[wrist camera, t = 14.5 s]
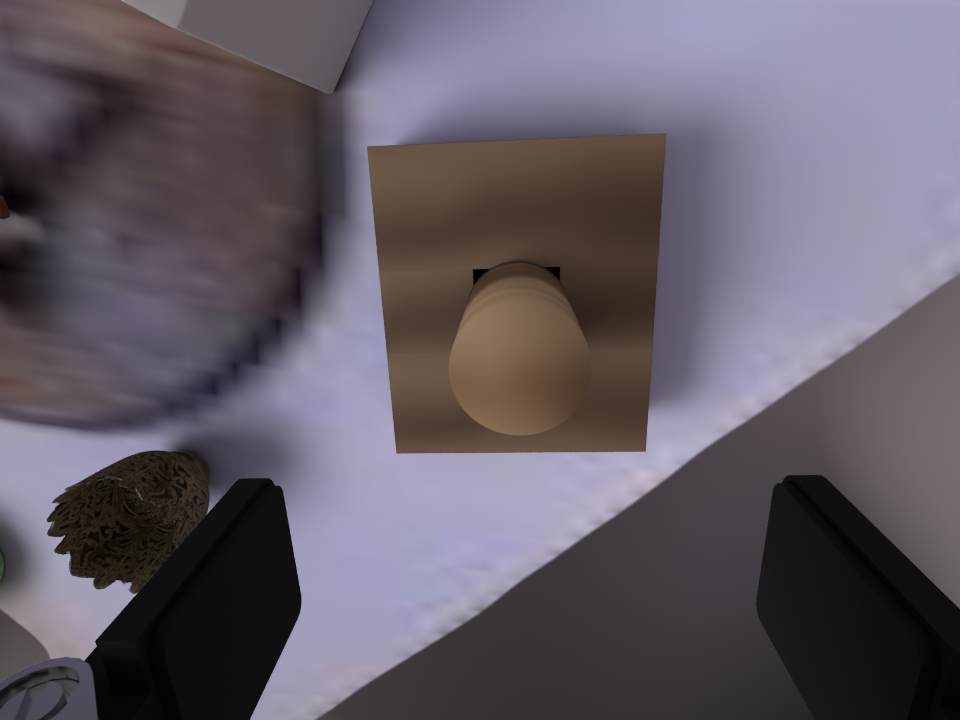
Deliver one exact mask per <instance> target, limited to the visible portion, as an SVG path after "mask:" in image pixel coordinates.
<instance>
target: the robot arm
mask: <svg viewBox="0 0 960 720" xmlns="http://www.w3.org/2000/svg"><path fill="white" fill-rule="evenodd" d="M756 605H757V612H758V616H759V619H760V621H761V623H762V625H763V627H764V629H765V631H766V632H767V634H768V636H769V638H770V640H771V641H772V643H773V645H774V647H775V649H776V651H777V652H778V654H779V656H780V658H781V660H782V661H783V663H784V665H785V667H786V669H787V670H788V672H789V674H790V676H791V678H792V679H793V681H794V683H795V685H796V687H797V688H798V690H799V692H800V694H801V696H802V697H803V699H804V701H805V703H806V705H807V707H808V708H809V710H810V712H811V714H812V716H813V717H814V719H815V720H960V609H959V608H958V607H957V606H956V605H955V604H954V603H953V602H952V601H951V600H950V599H949V598H948V597H947V596H946V595H945V594H944V593H943V592H941V590H940V589H939V588H938V587H936V585H934V584H933V582H931V581H930V580H929V579H928V578H927V577H926V576H925V575H924V574H923V573H922V572H921V571H920V570H919V569H918V568H917V567H916V566H915V565H914V564H913V563H912V562H911V561H910V560H909V559H908V558H907V557H906V556H905V555H904V554H903V553H902V552H901V551H900V550H899V549H898V548H897V547H896V546H895V545H894V544H892V542H891V541H890V540H889V539H887V538H886V537H885V536H884V535H883V534H882V533H881V532H880V531H879V530H878V529H877V528H876V527H875V526H874V525H873V524H872V523H871V522H870V521H869V520H868V519H867V518H866V517H865V516H864V515H863V514H862V513H861V512H860V511H859V510H858V509H857V508H856V507H855V506H854V505H853V504H852V503H851V502H850V501H849V500H848V499H847V498H846V497H845V496H844V495H842V494H841V493H840V492H839V491H838V490H837V489H836V488H835V487H834V486H833V485H832V484H831V483H830V482H829V481H828V480H827V479H826V478H825V477H823V476H821V475H788V476H786V477H785V479H784V480H783V482H782V483H777V484H776V485H775V486H774V489H773V494H772V500H771V507H770V514H769V520H768V527H767V534H766V541H765V547H764V553H763V560H762V567H761V573H760V580H759V586H758V593H757V602H756ZM300 610H301V592H300V586H299V580H298V575H297V569H296V563H295V558H294V552H293V546H292V540H291V535H290V529H289V523H288V518H287V512H286V506H285V500H284V495H283V491H282V488H281V487H280V486H274V483H273V481H272V480H271V479H269V478H249V479H239V480H238V481H236V482H235V483H234V485H233V486H232V487H231V488H230V489H229V490H228V491H227V493H226V494H225V495H224V496H223V497H222V498H221V499H220V500H219V502H218V503H217V504H216V505H215V506H214V507H213V508H212V510H211V511H210V512H209V513H208V514H207V515H206V516H205V517H204V519H203V520H202V521H201V522H200V523H199V524H198V525H197V527H196V528H195V529H194V530H193V531H192V532H191V533H190V534H189V536H188V537H187V538H186V539H185V540H184V541H183V542H182V544H181V545H180V546H179V547H178V548H177V549H176V550H175V551H174V553H173V554H172V555H171V556H170V557H169V558H168V559H167V561H166V562H165V563H164V564H163V565H162V566H161V567H160V568H159V570H158V571H157V572H156V573H155V574H154V575H153V576H152V577H151V579H150V580H149V581H148V582H147V583H146V584H145V585H144V587H143V588H142V589H141V590H140V591H139V592H138V593H137V594H136V596H135V597H134V598H133V599H132V600H131V601H130V602H129V604H128V605H127V606H126V607H125V608H124V609H123V610H122V611H121V613H120V614H119V615H118V616H117V617H116V618H115V619H114V621H113V622H112V623H111V624H110V625H109V626H108V627H107V628H106V630H105V631H104V632H103V633H102V634H101V635H100V636H99V638H98V639H97V640H96V641H95V642H96V645H97V647H96V648H95V649H94V650H93V652H92V653H91V654H90V655H89V656H88V657H87V658H86V660H85V661H83V660H81V659H80V658H70V657H63V658H56V659H50V660H46V661H43V662H41V663H38V664H35V665H32V666H29V667H27V668H25V669H23V670H21V671H19V672H17V673H15V674H13V675H11V676H9V677H8V678H7V679H5V680H4V681H2V682H1V683H0V720H250V718H251V716H252V714H253V712H254V710H255V708H256V705H257V703H258V701H259V699H260V697H261V695H262V693H263V691H264V689H265V686H266V684H267V682H268V680H269V678H270V676H271V674H272V672H273V670H274V668H275V665H276V663H277V661H278V659H279V657H280V655H281V653H282V651H283V649H284V647H285V644H286V642H287V640H288V638H289V636H290V634H291V632H292V630H293V628H294V625H295V623H296V621H297V619H298V617H299V614H300Z"/></svg>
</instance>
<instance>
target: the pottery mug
mask: <svg viewBox="0 0 960 720" xmlns="http://www.w3.org/2000/svg"><path fill="white" fill-rule="evenodd" d="M9 216H10V212H9V209H8V206H7V204H6V201H5V199H4V197H3V196H2V195H1V194H0V218H1V219H5V218H8V217H9Z"/></svg>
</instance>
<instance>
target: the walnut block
mask: <svg viewBox="0 0 960 720" xmlns="http://www.w3.org/2000/svg"><path fill="white" fill-rule="evenodd" d="M665 141H666V133H665V134H642V135H619V136H597V137H574V138H551V139H528V140H505V141H482V142H459V143H436V144H413V145H390V146H367V150H368V160H369V171H370V181H371V192H372V202H373V213H374V223H375V233H376V244H377V254H378V265H379V275H380V286H381V296H382V306H383V317H384V327H385V338H386V348H387V359H388V369H389V379H390V390H391V400H392V411H393V421H394V432H395V442H396V452H397V453H515V452H646V438H647V423H648V407H649V391H650V376H651V360H652V344H653V329H654V313H655V297H656V282H657V266H658V250H659V235H660V219H661V203H662V188H663V172H664V156H665ZM511 261H526V262H531V263H534V264H537V265H540V266H542V267H553V275H555V276H556V278H557V279H558V280H559V281H560V283H561V284H562V285H563V287H564V289H565V291H566V294H567V297H568V299H569V303H570V305H571V307H572V310H573V312H574V314H575V317H576V319H577V321H578V323H579V326H580V328H581V330H582V333H583V335H584V337H585V339H586V342H587V344H588V347H589V350H590V354H591V359H592V376H591V382H590V386H589V389H588V391H587V394H586V396H585V398H584V400H583V402H582V403H581V405H580V406H579V407H578V409H577V410H576V411H575V412H574V413H573V414H572V415H571V416H570V417H569V418H568V419H566V420H565V421H564V422H563V423H561V424H559V425H558V426H556V427H554V428H552V429H550V430H547V431H544V432H541V433H538V434H532V435H522V436H519V435H508V434H503V433H499V432H496V431H493V430H491V429H488V428H486V427H484V426H483V425H481V424H479V423H478V422H477V421H475V420H474V419H473V418H471V417H470V416H469V415H468V414H467V413H466V412H465V410H464V409H463V408H462V407H461V405H460V404H459V402H458V401H457V399H456V397H455V395H454V392H453V390H452V387H451V383H450V378H449V359H450V353H451V350H452V347H453V344H454V341H455V338H456V335H457V332H458V329H459V326H460V323H461V320H462V317H463V315H464V312H465V309H466V305H467V300H468V297H469V294H470V292H471V290H472V288H473V286H474V284H475V283H476V282H477V280H478V279H479V269H491V268H493V267H495V266H497V265H499V264H502V263H506V262H511Z"/></svg>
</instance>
